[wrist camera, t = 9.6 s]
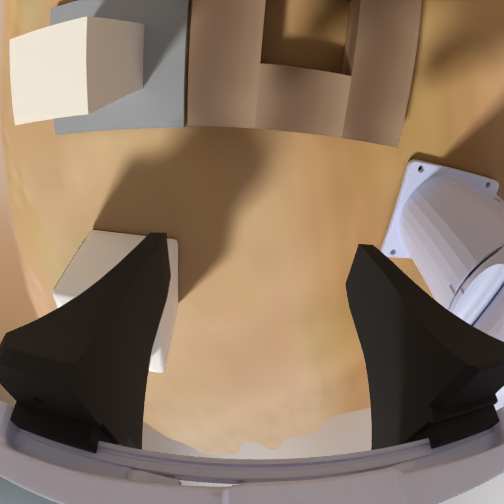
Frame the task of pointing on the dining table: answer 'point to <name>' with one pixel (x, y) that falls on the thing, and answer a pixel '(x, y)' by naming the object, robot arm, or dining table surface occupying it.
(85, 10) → the mat
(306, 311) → the dining table surface
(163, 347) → the white bottle
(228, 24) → the pocket block
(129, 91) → the peg
